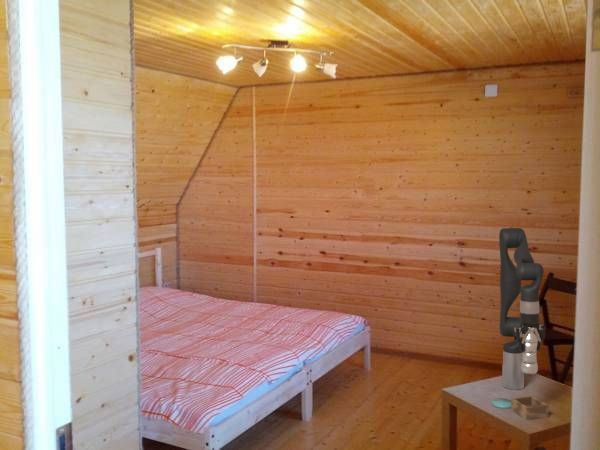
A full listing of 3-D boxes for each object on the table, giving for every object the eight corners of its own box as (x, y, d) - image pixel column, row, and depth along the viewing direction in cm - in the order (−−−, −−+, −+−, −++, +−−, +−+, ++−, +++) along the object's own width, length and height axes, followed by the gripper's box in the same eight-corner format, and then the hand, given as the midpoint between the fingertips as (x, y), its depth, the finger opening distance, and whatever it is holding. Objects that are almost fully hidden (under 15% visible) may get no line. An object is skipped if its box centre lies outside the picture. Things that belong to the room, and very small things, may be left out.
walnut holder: (511, 410, 255) (511, 398, 255) (532, 407, 257) (532, 396, 257) (526, 420, 244) (526, 408, 244) (548, 417, 247) (548, 405, 246)
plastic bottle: (517, 372, 252) (517, 325, 250) (530, 370, 254) (530, 323, 252) (528, 377, 245) (528, 329, 244) (541, 374, 248) (541, 327, 246)
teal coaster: (487, 402, 265) (487, 399, 265) (506, 399, 267) (506, 397, 267) (499, 409, 256) (499, 407, 256) (517, 407, 258) (517, 404, 258)
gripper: (539, 307, 253) (539, 346, 254) (508, 310, 249) (508, 350, 251) (550, 311, 245) (550, 351, 247) (519, 314, 242) (519, 355, 244)
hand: (529, 350), depth 249 cm, fingers closed on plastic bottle, 6 cm apart
